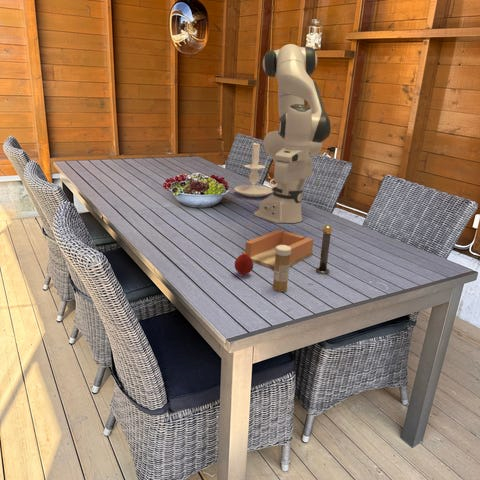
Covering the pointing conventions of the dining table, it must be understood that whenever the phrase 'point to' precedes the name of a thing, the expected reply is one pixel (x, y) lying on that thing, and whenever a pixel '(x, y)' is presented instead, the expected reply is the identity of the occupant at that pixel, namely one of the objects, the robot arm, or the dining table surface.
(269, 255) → the tray
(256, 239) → the c link
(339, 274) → the dining table surface
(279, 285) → the sprinkles bottle
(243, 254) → the onion
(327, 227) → the post stand
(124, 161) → the dining table surface
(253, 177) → the candlestick
